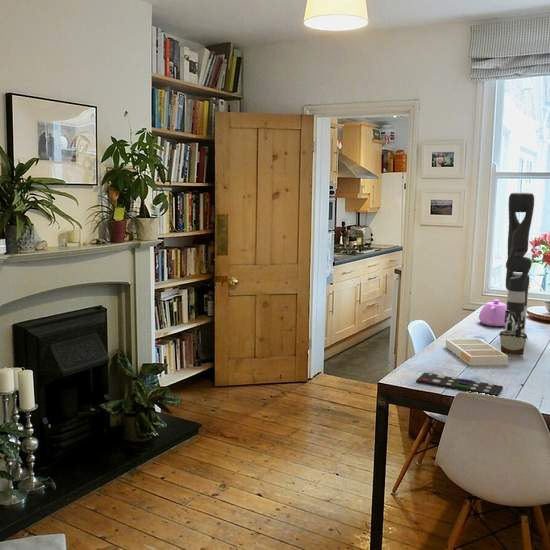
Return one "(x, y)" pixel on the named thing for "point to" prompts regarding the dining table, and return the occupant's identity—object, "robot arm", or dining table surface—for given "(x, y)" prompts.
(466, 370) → the dining table surface
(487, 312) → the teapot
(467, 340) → the cream compartment tray
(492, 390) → the remote control
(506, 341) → the food container
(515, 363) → the dining table surface
